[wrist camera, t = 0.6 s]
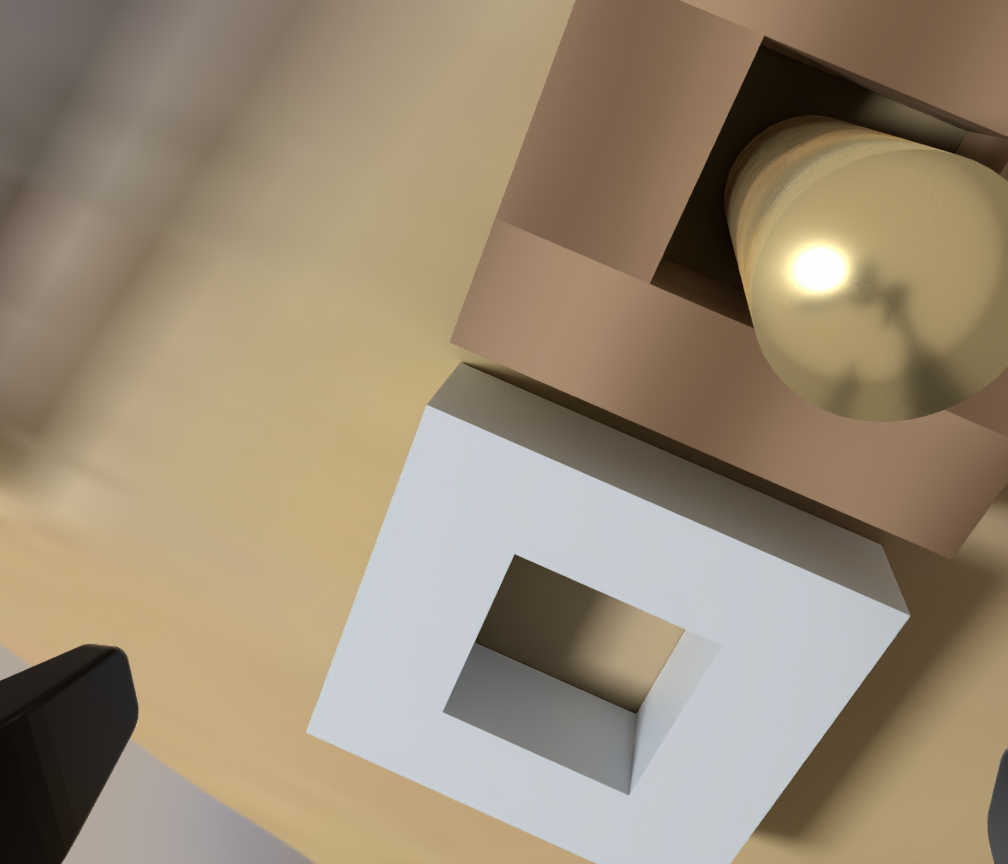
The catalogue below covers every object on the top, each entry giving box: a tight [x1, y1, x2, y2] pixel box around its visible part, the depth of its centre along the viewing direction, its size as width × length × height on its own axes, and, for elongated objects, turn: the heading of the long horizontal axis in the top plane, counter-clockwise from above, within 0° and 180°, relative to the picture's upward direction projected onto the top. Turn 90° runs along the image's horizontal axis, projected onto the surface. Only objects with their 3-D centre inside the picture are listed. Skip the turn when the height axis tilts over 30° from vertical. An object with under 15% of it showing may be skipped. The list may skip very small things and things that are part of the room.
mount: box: [450, 0, 1008, 560], centre depth 17 cm, size 11×10×3 cm
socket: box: [306, 363, 910, 864], centre depth 22 cm, size 11×10×3 cm
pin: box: [724, 115, 1008, 422], centre depth 14 cm, size 3×3×9 cm
